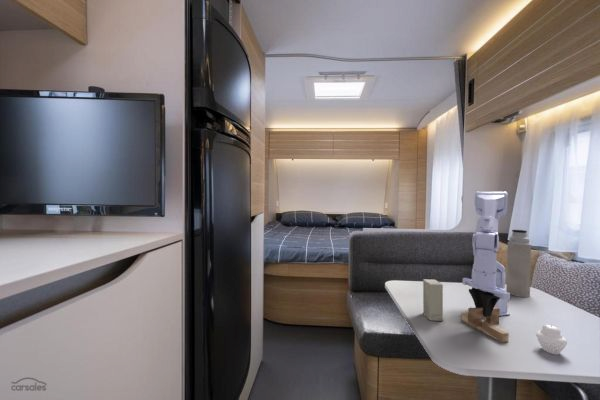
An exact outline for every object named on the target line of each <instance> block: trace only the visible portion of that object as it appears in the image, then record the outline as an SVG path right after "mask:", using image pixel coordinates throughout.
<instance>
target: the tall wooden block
mask: <svg viewBox="0 0 600 400" xmlns="http://www.w3.org/2000/svg"><path fill="white" fill-rule="evenodd" d="M467 312H468V323H467V325H468V326H470V327H472V328H475V327H478V326H482V320H483V319H485V320H484V321H486V322H488V323H490V324H492V325H494V326H498V325H500V316H499V313H500V308H497V307H495V306H494V308H493V311H492V314H491V316H490V317H485V316H484V315H483V307H477V308H470V307H468V308H467Z"/></svg>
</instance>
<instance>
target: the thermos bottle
mask: <svg viewBox="0 0 600 400" xmlns="http://www.w3.org/2000/svg"><path fill="white" fill-rule="evenodd" d="M511 231H512V235H510V236H509V239H508V242H507V250H506V251H507V252H506V253H507V254H506V257H507V259H506V285H505V288H506V289H505V291H506V292H508V293H510V295H512V296H515V297H521V298H529V297H530V296H531V269H532V268H531V267H532V266H531V265H532V243H530V238H529V237H527V235H528V234H527V232H528V231H527V230H525V229H512V230H511Z"/></svg>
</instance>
